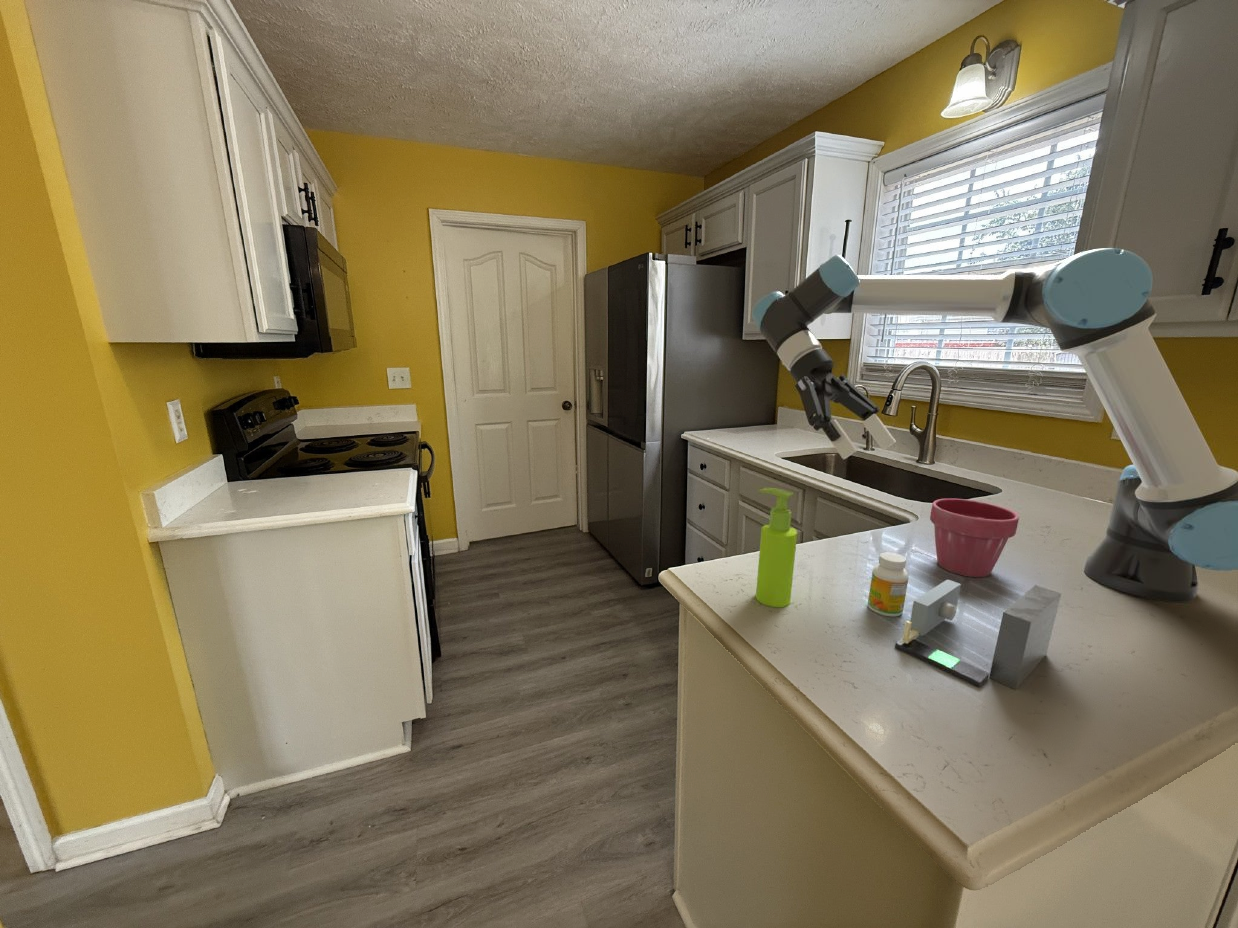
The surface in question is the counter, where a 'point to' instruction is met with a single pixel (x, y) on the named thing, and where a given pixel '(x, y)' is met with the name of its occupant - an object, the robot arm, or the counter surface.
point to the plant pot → (971, 535)
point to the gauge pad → (932, 609)
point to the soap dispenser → (776, 554)
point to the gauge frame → (1004, 642)
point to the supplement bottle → (888, 585)
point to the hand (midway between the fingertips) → (870, 450)
